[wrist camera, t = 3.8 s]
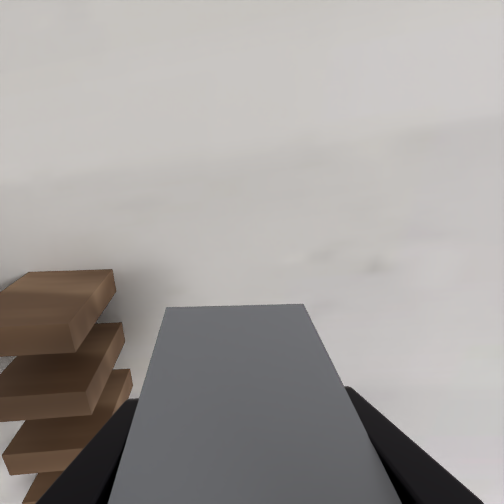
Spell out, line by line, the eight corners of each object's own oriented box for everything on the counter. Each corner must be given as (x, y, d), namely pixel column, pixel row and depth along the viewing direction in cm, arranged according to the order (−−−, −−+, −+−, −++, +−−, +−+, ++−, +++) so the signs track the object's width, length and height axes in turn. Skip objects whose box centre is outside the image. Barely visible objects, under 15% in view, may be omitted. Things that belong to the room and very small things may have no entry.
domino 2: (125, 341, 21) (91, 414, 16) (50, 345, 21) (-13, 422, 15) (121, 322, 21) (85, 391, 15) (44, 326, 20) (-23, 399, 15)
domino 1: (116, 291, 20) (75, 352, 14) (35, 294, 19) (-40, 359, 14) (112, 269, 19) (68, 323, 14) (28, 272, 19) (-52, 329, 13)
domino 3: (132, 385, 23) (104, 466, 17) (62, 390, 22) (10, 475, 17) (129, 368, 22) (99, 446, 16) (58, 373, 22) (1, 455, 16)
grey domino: (299, 339, 12) (490, 828, 4) (169, 344, 11) (30, 937, 3) (303, 304, 11) (543, 791, 3) (166, 307, 11) (-15, 917, 2)
